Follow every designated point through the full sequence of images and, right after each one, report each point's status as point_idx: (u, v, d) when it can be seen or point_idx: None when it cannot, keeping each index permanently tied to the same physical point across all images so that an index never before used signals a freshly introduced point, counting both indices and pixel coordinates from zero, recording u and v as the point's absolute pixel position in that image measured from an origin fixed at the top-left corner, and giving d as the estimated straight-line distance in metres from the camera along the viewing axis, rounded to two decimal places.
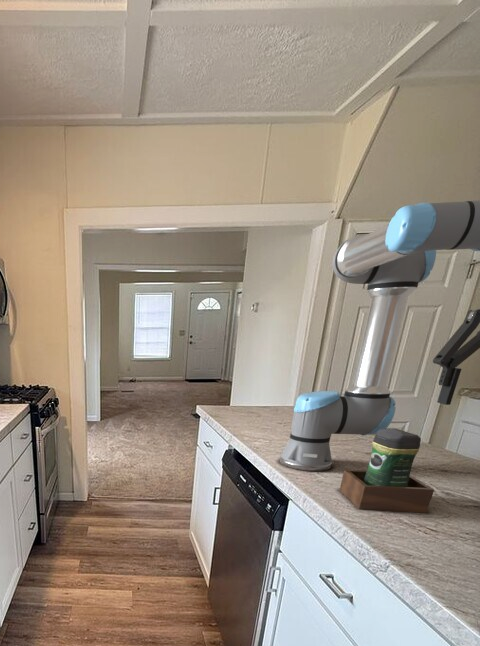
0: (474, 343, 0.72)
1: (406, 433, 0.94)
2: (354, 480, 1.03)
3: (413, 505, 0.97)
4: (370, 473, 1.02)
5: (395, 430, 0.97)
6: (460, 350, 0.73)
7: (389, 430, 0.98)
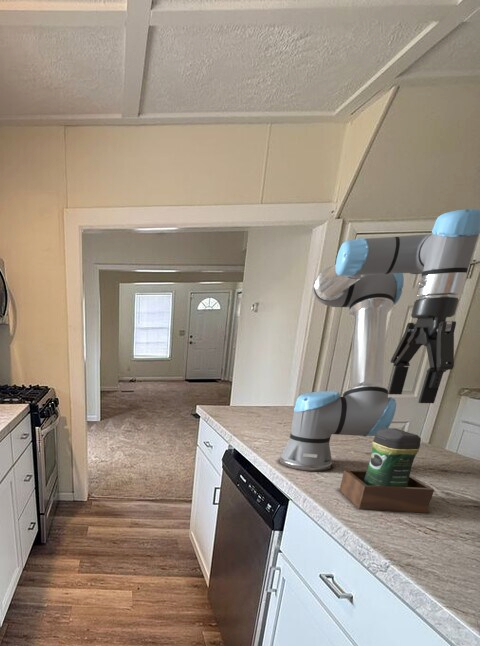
0: (405, 348, 0.95)
1: (406, 433, 0.94)
2: (354, 480, 1.03)
3: (413, 505, 0.97)
4: (370, 473, 1.02)
5: (395, 430, 0.97)
6: None
7: (389, 430, 0.98)
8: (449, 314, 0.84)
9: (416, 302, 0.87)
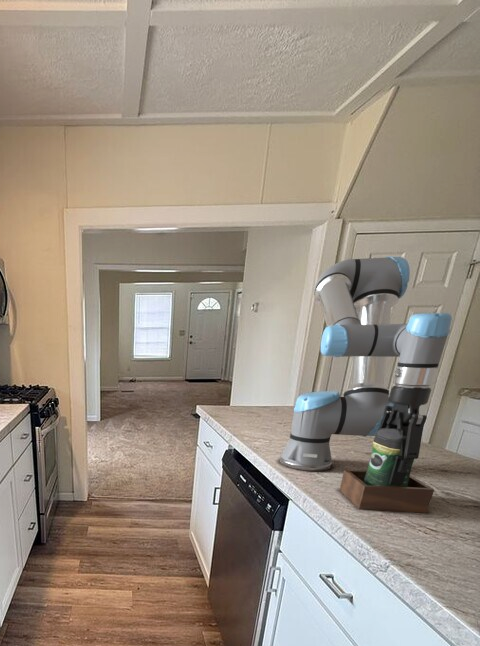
0: None
1: None
2: (354, 480, 1.03)
3: (413, 505, 0.97)
4: (370, 473, 1.02)
5: (395, 430, 0.97)
6: None
7: (389, 430, 0.98)
8: (422, 403, 0.91)
9: (392, 389, 0.94)
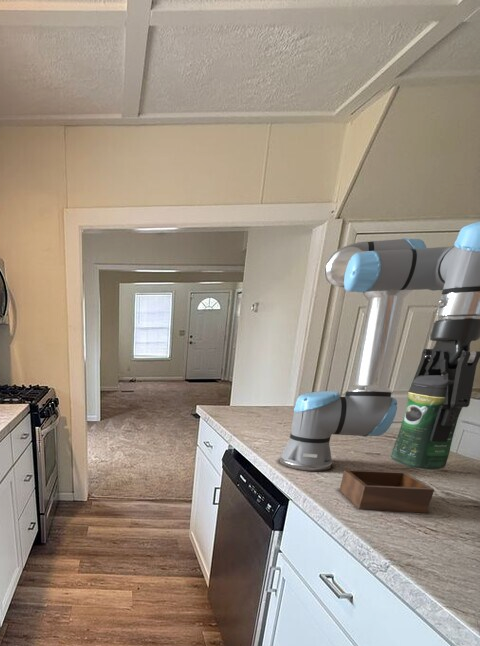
0: None
1: None
2: (354, 480, 1.03)
3: (413, 505, 0.97)
4: (405, 430, 0.84)
5: (438, 376, 0.80)
6: None
7: (430, 376, 0.81)
8: (474, 338, 0.74)
9: (436, 323, 0.77)
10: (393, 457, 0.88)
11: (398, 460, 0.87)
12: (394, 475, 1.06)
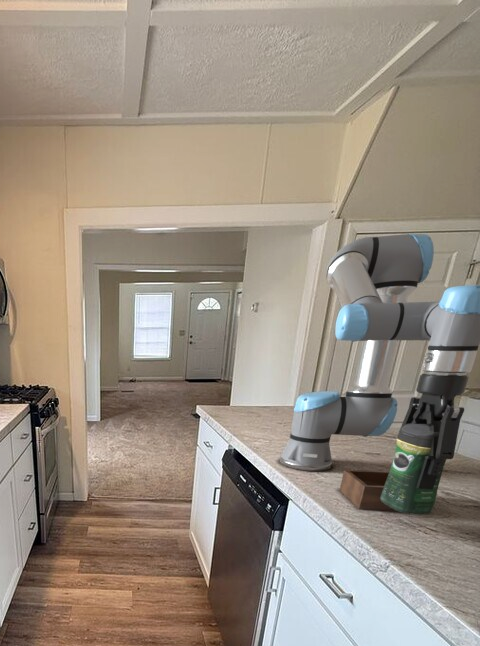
0: None
1: None
2: (354, 480, 1.03)
3: None
4: (394, 475, 0.88)
5: (424, 425, 0.83)
6: None
7: (417, 425, 0.84)
8: (458, 393, 0.77)
9: (422, 377, 0.80)
10: (382, 499, 0.91)
11: (387, 503, 0.90)
12: None
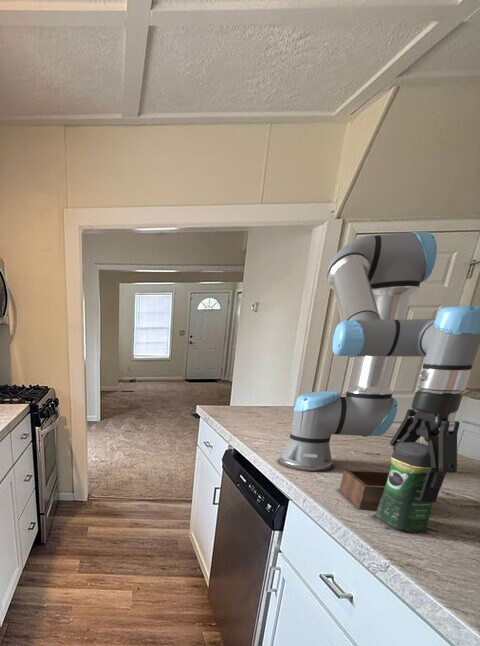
0: (405, 435, 0.89)
1: None
2: (354, 480, 1.03)
3: None
4: (388, 493, 0.89)
5: (418, 445, 0.85)
6: None
7: (411, 445, 0.86)
8: (452, 411, 0.78)
9: (417, 394, 0.81)
10: (378, 516, 0.93)
11: (382, 520, 0.91)
12: None
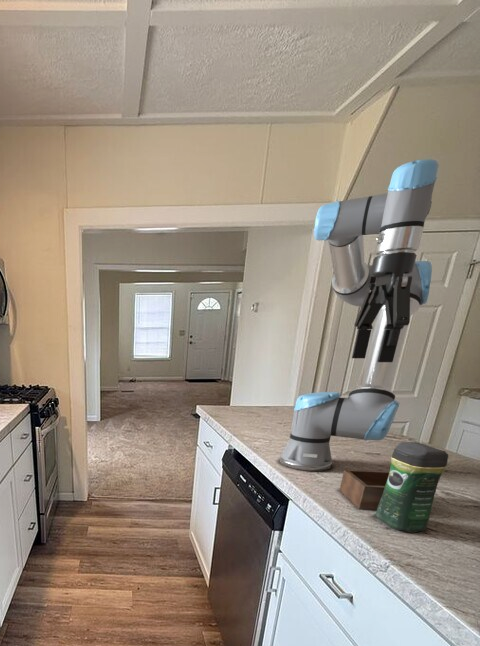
0: None
1: (432, 449, 0.82)
2: (354, 480, 1.03)
3: None
4: (388, 493, 0.89)
5: (418, 445, 0.85)
6: None
7: (411, 444, 0.86)
8: (406, 270, 0.82)
9: (374, 259, 0.85)
10: (378, 516, 0.93)
11: (382, 520, 0.91)
12: None
